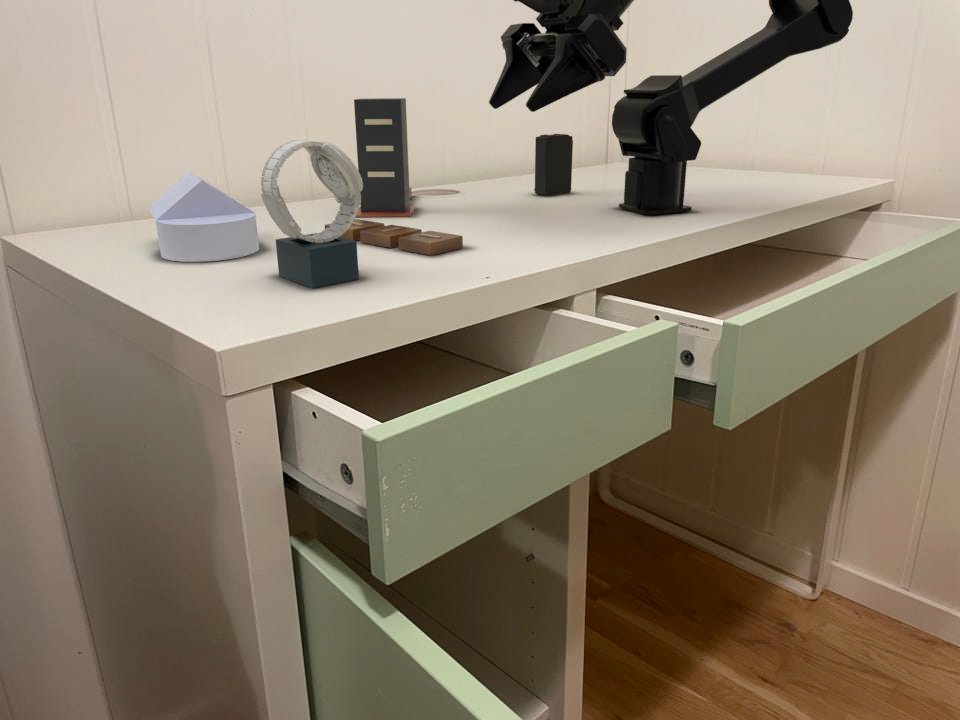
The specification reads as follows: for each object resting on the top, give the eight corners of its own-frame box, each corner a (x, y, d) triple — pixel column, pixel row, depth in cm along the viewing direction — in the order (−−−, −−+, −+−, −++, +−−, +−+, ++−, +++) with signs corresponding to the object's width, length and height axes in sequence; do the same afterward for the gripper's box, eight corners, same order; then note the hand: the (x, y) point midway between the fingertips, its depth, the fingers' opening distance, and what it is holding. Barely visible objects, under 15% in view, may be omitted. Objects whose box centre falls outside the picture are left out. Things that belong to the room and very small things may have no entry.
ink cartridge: (560, 191, 111) (561, 133, 109) (571, 193, 110) (573, 134, 107) (534, 194, 109) (534, 135, 106) (545, 196, 107) (546, 135, 104)
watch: (378, 275, 65) (371, 139, 62) (292, 292, 60) (278, 145, 57) (342, 264, 69) (333, 136, 66) (259, 279, 64) (244, 141, 61)
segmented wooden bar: (463, 248, 75) (462, 234, 75) (431, 255, 72) (431, 241, 72) (357, 229, 85) (356, 217, 84) (325, 236, 82) (324, 223, 81)
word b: (410, 216, 93) (409, 205, 92) (351, 216, 93) (350, 205, 92) (421, 196, 108) (420, 186, 108) (370, 196, 108) (370, 187, 108)
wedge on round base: (152, 240, 80) (166, 265, 69) (142, 174, 78) (154, 189, 67) (241, 232, 84) (268, 255, 73) (234, 168, 82) (260, 182, 71)
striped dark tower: (366, 207, 98) (360, 98, 94) (410, 207, 98) (405, 98, 93) (360, 212, 95) (353, 99, 90) (405, 212, 94) (400, 99, 90)
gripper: (516, -53, 88) (428, 52, 88) (605, -82, 72) (497, 47, 72) (575, 24, 94) (492, 123, 93) (670, 12, 77) (570, 132, 77)
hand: (509, 107), depth 84 cm, fingers open, 9 cm apart
